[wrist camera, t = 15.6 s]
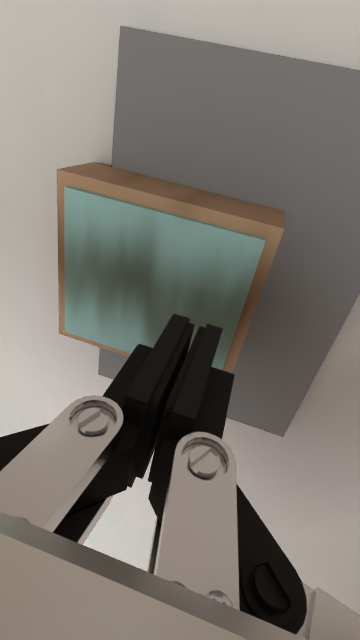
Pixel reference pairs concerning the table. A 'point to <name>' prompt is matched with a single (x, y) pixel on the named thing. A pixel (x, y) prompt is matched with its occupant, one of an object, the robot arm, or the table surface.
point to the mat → (256, 189)
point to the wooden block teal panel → (158, 259)
